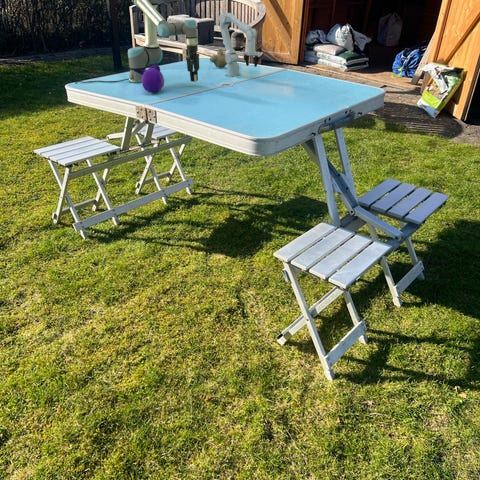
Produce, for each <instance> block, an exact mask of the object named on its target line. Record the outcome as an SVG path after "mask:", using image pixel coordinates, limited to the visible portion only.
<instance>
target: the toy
mask: <svg viewBox="0 0 480 480" xmlns="http://www.w3.org/2000/svg"><path fill="white" fill-rule="evenodd" d="M134 71H135V72H137V73H139V74H141V75H143V76H142V83H141V85H142V87H143V89H144V90H145V91H146V92H147V93H151V94H157V93H159V92H160V91H161V90H162V89H163V87H164V86H165V78H164V75H163V72H161V67H160V66H159V65H158V64H153V65H151V66H150V65H149V67H148V68H146V70H134Z"/></svg>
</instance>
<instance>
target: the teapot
mask: <svg viewBox="0 0 480 480" xmlns="http://www.w3.org/2000/svg"><path fill="white" fill-rule="evenodd" d="M225 53H226V51H225V52H224V51H223V50H222V48H218V51H217V53H216V54H212V55H211V56H210V57H209V61H210V62H211V63H213V65H214V66H215V68H217V69H222V68H225V67H226V66H227V62H226V60H225Z"/></svg>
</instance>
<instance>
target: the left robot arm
mask: <svg viewBox="0 0 480 480" xmlns="http://www.w3.org/2000/svg"><path fill="white" fill-rule="evenodd" d="M160 1H161V0H131V2H132V4H133V5H134V6H135V7H137V8H138V9H140V10H141V12H142V13H143V16H144V17H143V18H144V37H145V38H144V39H145V42H144V43H143V44H142V45H143V46H134V47H131V48H129V49H127V57H128V66H129V76H128V78H124V79H119V80H88V81H82V80H77V81H75V82H74V84H78V83H83V84H88V83H118V82H119V83H120V82H125V81H128V82H129V83H133V84H142V76H143V75H141V74H139V73H137V72H135V71H134V70H147V67H146V66H150V65H157V64H159V63H161V61H162V60H163V57H164V55H163V54H164V53H163V50H162V48H161V47H160V44H159V43H158V36H159V37H161V38H162V37H163V38H165V37H172V36H181V35H182V36H183V35H184V36H185V44H186V51H187V55H185V59H186V60H185V61H186V69H187V72H189V78H190V82H192V83H193V82H194V75H196V76H197V81H199V77H198V75H199V71H200V53H198V50H199V48H198V47H199V46H198V32H197V31H198V30H197V21H196V19H185V20H184V22H183V21H176V22H170V23H169V22H168V21H167V20H166V19H165V18H164V17H163V16H162V14H161V13H160V12H159V11H158V10H157V8H158V6H159V2H160ZM194 83H195V82H194Z"/></svg>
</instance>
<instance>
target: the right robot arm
mask: <svg viewBox="0 0 480 480" xmlns="http://www.w3.org/2000/svg"><path fill="white" fill-rule="evenodd" d="M218 21H219V29H220V34H221V36H222V37H221V38H222V40H223V44H224V48H225V52H226V53H225V52H224V53H225V60H226V62H227V65H226V66H227V74H225V76H226V77H236V76H240V75H241V73H240V64H239V63H238V61H239V60H240V59H239V55H238V53H237V51H236V50H235V49H234V46H233V43H232V39H231V36H230V32H229V26H230V24H231V23H233V24H234V25H235V26H237V27H238V28H239V31H241V32H242V33H243V34H244V35H245V37H246V40H247V52H246V51H245V52H242V58H243V59H244V62H245V66H246V67H249V66H250V57H253V62H254V63H253V65H254V68H256V67H258V63H259V60H260V58H261V53H257V52H256V37H257V36H258V31H257V29H256V28H252V27H251V26H249V24H247V23H246V22H241V20H239V19H238V18H237V17H236V16H235V14H233V13H232V12H225V13H223V12H222V13H220V15H219V16H218Z"/></svg>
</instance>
